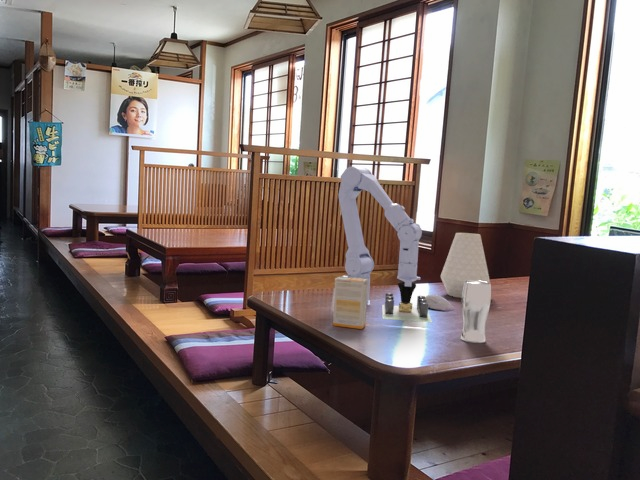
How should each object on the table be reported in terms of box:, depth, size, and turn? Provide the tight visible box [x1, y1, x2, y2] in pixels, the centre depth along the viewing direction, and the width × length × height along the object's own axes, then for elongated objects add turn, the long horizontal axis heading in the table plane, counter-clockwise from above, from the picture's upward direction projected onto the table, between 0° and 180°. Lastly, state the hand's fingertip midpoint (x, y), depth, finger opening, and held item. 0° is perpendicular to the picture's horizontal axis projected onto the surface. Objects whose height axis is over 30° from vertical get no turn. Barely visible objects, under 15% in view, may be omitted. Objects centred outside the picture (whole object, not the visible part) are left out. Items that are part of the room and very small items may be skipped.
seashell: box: [425, 294, 455, 312], centre depth 177 cm, size 10×6×10 cm
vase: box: [440, 232, 490, 299], centre depth 203 cm, size 17×17×23 cm
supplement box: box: [332, 275, 368, 330], centre depth 149 cm, size 8×5×13 cm, turn 71°
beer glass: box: [460, 280, 492, 344], centre depth 140 cm, size 7×7×15 cm
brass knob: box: [398, 301, 413, 313], centre depth 168 cm, size 4×4×3 cm
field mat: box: [381, 304, 433, 323], centre depth 166 cm, size 14×20×1 cm
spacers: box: [384, 292, 429, 318], centre depth 169 cm, size 12×14×4 cm
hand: (405, 305), depth 171 cm, fingers closed
